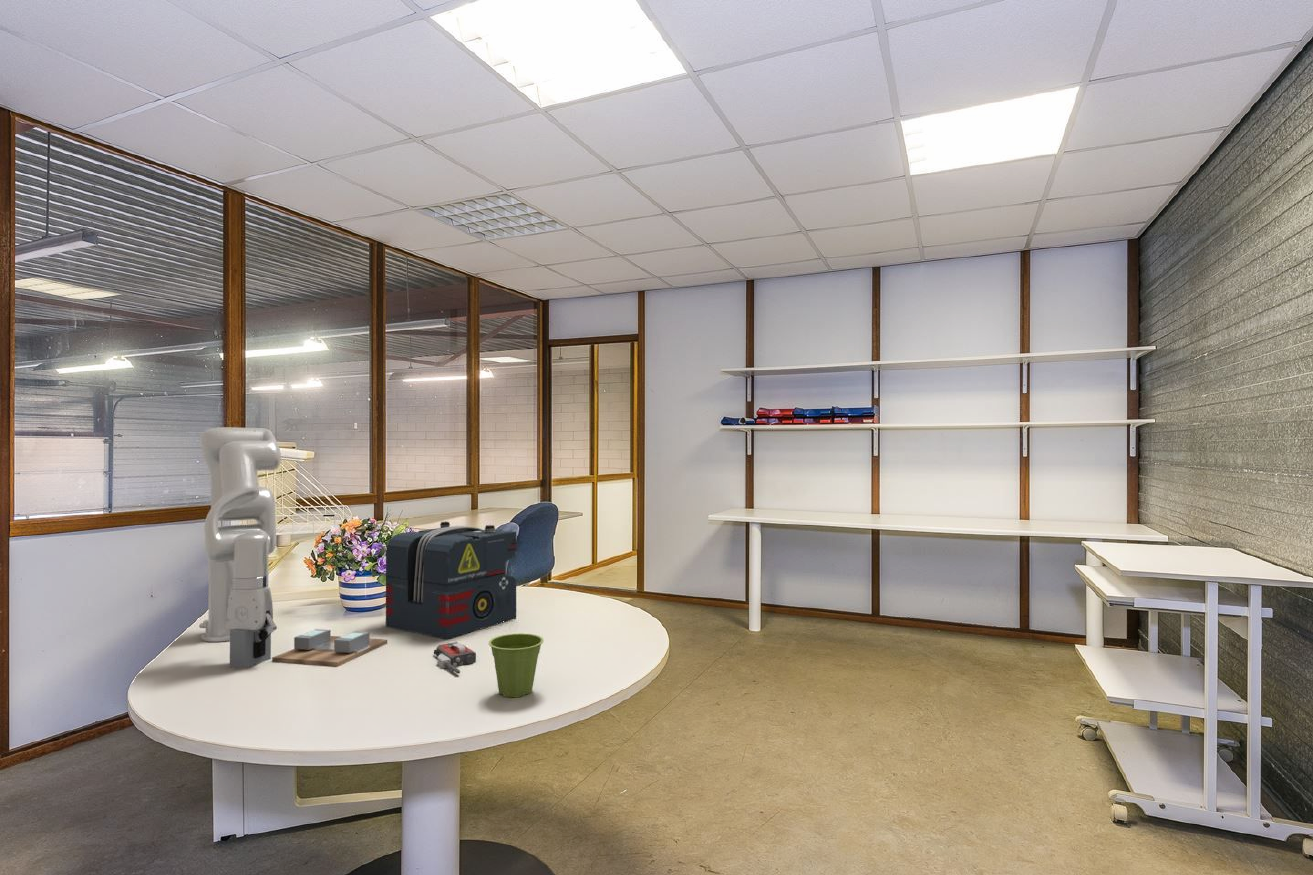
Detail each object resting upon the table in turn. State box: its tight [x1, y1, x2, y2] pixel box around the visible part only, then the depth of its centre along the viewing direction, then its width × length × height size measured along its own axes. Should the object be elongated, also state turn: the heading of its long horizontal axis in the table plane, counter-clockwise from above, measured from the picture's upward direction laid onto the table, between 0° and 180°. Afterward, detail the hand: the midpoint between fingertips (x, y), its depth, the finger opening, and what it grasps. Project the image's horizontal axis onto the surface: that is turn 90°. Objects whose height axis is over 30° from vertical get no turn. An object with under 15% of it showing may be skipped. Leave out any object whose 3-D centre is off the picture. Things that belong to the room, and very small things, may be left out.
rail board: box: [271, 628, 388, 667], centre depth 175 cm, size 19×20×5 cm
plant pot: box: [488, 632, 545, 698], centre depth 146 cm, size 12×12×11 cm
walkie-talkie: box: [433, 641, 477, 674], centre depth 166 cm, size 9×4×20 cm
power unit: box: [385, 521, 517, 640], centre depth 205 cm, size 28×28×30 cm
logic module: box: [229, 627, 272, 670], centre depth 167 cm, size 4×8×9 cm, turn 168°
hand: (250, 655), depth 167 cm, fingers closed on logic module, 4 cm apart
